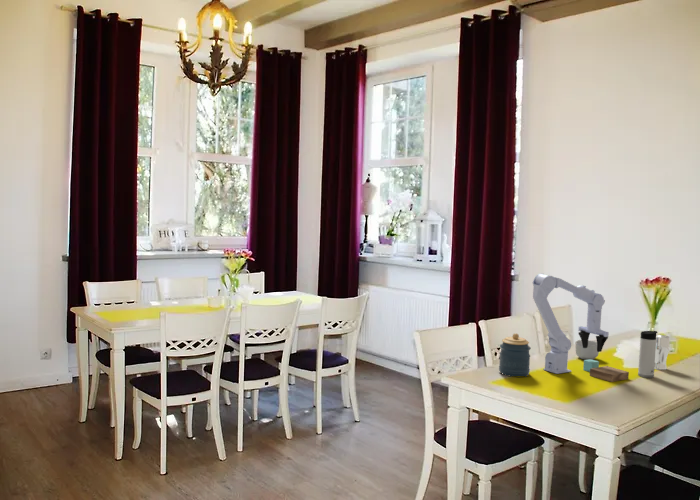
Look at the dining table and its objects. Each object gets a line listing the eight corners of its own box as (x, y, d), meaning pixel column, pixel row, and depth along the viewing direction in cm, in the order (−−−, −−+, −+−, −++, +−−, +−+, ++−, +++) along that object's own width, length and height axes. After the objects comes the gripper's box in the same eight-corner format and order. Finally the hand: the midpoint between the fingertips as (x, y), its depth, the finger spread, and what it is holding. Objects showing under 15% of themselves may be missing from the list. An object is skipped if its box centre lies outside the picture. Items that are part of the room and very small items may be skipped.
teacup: (601, 361, 303) (602, 345, 302) (578, 360, 303) (579, 344, 302) (591, 354, 317) (592, 338, 316) (569, 354, 317) (570, 338, 316)
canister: (492, 372, 277) (494, 332, 275) (508, 368, 286) (510, 329, 284) (519, 379, 267) (521, 337, 266) (535, 374, 277) (537, 334, 275)
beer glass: (664, 366, 295) (666, 335, 294) (670, 370, 289) (672, 338, 287) (648, 366, 296) (650, 334, 295) (654, 370, 289) (656, 337, 288)
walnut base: (611, 381, 267) (611, 374, 267) (589, 375, 277) (590, 368, 277) (628, 378, 273) (628, 372, 273) (606, 372, 282) (606, 365, 282)
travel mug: (656, 378, 274) (659, 332, 273) (639, 377, 276) (642, 331, 274) (652, 374, 281) (655, 330, 279) (636, 373, 282) (639, 329, 280)
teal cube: (591, 372, 282) (592, 362, 282) (583, 370, 286) (583, 360, 286) (598, 371, 284) (598, 361, 284) (590, 369, 288) (590, 359, 288)
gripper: (613, 321, 280) (611, 352, 281) (586, 316, 292) (584, 345, 293) (603, 322, 276) (601, 353, 277) (576, 317, 289) (574, 346, 290)
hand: (592, 349), depth 285 cm, fingers open, 7 cm apart
